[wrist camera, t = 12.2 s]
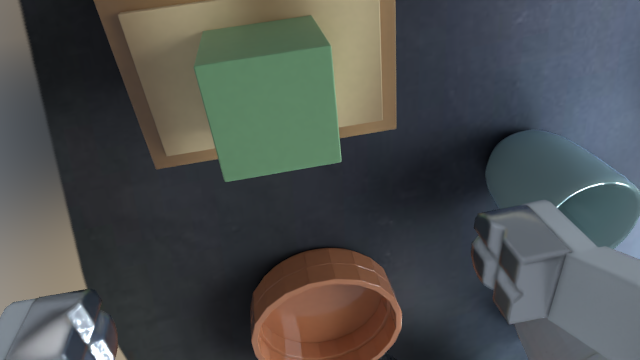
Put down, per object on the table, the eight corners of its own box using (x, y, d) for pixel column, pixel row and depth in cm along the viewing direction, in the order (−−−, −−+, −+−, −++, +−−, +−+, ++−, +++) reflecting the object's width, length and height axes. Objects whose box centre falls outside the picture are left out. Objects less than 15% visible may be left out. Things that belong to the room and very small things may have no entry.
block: (226, 130, 20) (224, 182, 16) (202, 30, 18) (192, 66, 14) (322, 114, 20) (341, 162, 17) (311, 15, 18) (331, 45, 14)
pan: (220, 305, 43) (219, 344, 39) (328, 219, 39) (338, 253, 36) (315, 359, 50) (321, 396, 46) (414, 291, 46) (429, 325, 43)
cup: (539, 190, 41) (615, 264, 33) (463, 194, 40) (521, 271, 32) (569, 115, 37) (663, 177, 29) (484, 116, 36) (558, 182, 28)
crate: (181, 84, 31) (154, 174, 21) (144, -42, 26) (87, -5, 16) (348, 58, 32) (399, 132, 22) (339, -68, 27) (398, -48, 17)
